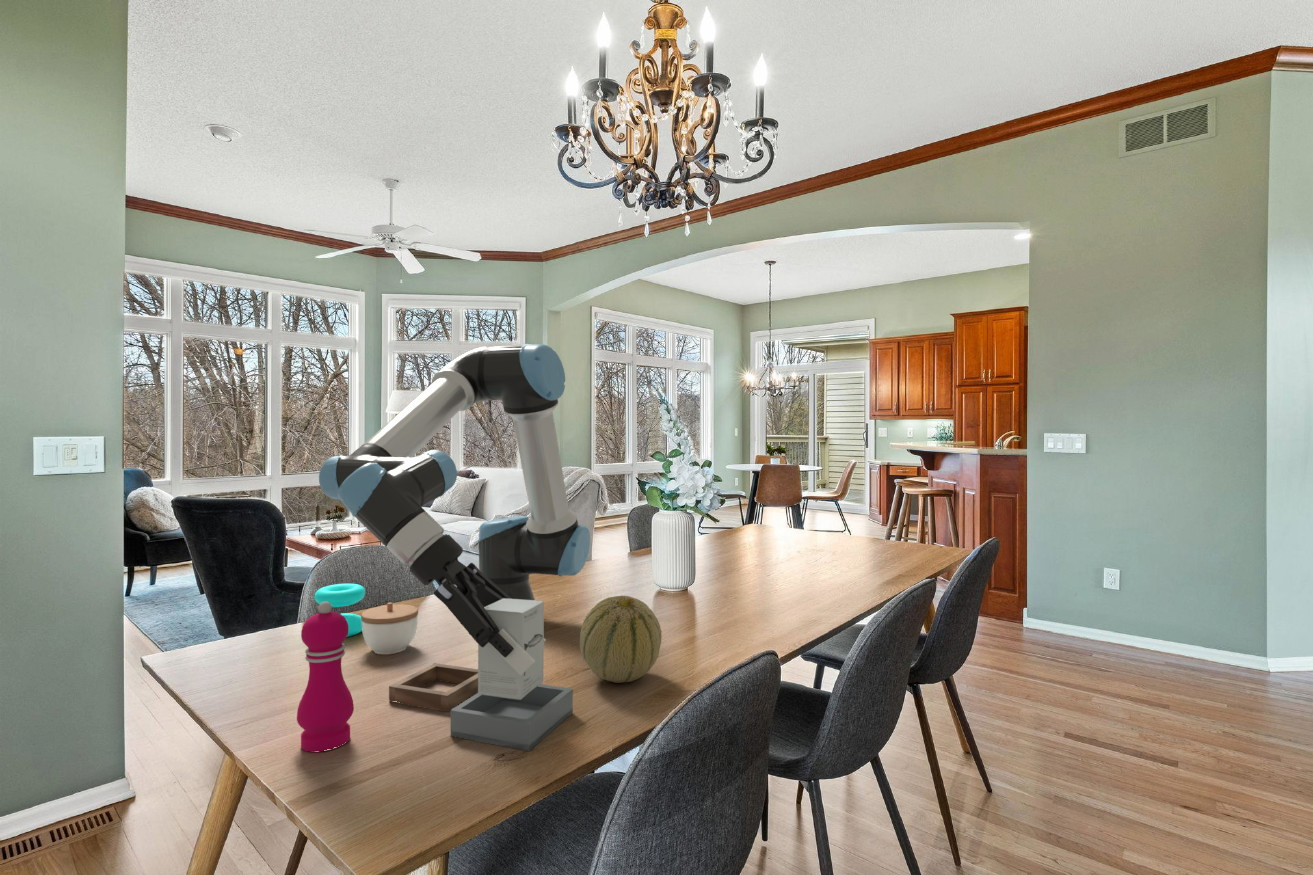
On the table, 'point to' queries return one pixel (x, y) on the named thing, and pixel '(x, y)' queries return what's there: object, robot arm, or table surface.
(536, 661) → the supplement box
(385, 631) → the lidded jar
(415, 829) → the table surface
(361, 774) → the table surface
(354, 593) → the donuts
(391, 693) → the walnut collar
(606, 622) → the cantaloupe
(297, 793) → the table surface
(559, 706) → the slate tray
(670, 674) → the table surface
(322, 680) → the pepper mill
